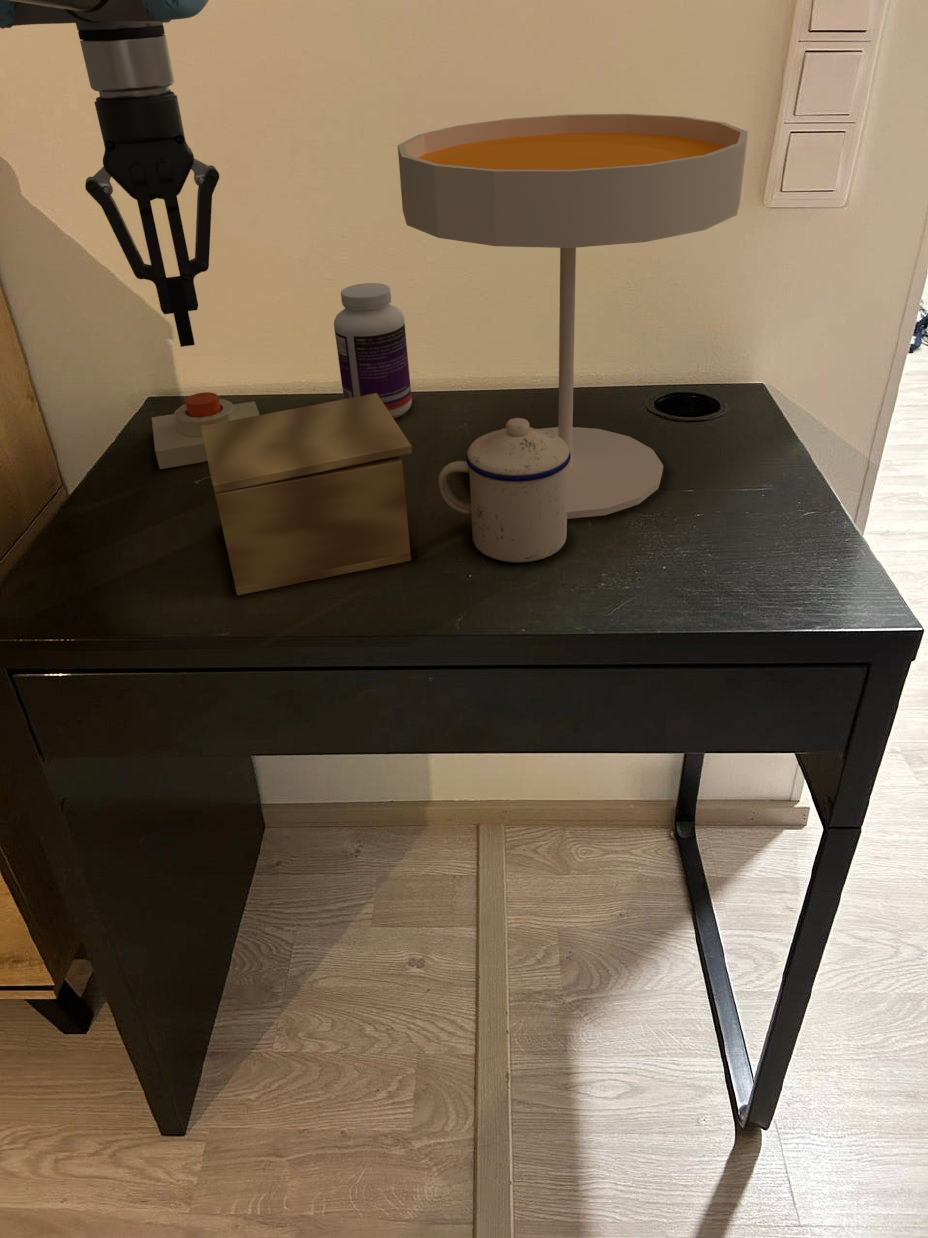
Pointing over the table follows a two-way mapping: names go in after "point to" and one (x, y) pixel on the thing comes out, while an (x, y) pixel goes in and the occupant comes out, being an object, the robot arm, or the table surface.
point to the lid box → (315, 525)
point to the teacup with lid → (514, 492)
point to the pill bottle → (373, 347)
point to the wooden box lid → (301, 442)
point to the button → (203, 404)
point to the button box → (191, 433)
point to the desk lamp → (577, 228)
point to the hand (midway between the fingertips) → (186, 341)
